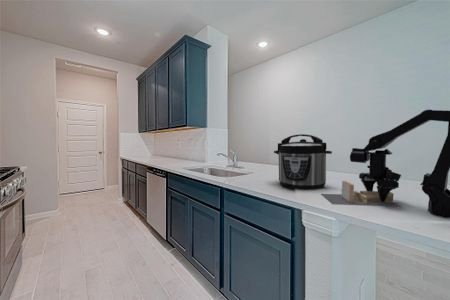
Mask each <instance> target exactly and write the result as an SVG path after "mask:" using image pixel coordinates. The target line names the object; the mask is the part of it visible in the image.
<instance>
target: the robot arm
mask: <svg viewBox="0 0 450 300" xmlns="http://www.w3.org/2000/svg"><path fill="white" fill-rule="evenodd" d="M430 121H434V122H436V121H437V122H445V123H446V122H448V125H447V134H446V137H445V140H444V143H443V146H442V148H441V150H440V153H439V155H438V158H437V161H436V163H435V166H434V168H433V171H432V172H431V173H429V172H427V173H425V174H424V175H423V180H422V182H421V183H420V184H419V185H420V186H421V191H422V192H423V193H424V194H425V195H426V196H427V197H428V203H427V204H428V207H427V212H429V214H431V215H433V216H436V217H442V218H443V219H444V218H445V219H450V189H448V181H449V172H450V110H440V109H438V110H437V109H436V110H435V109H434V110H432V109H425V110H423V111H421V113H419V114H417V115H415V116H413V117H411V118H410V119H408V120H406V121H405V122H403V123H400V124H399V125H397V126H396V127H394V128H392V129H391V130H390V129H389V130H387V131H385V132H381V133H380V134H376V135H374V136H372V137H370V138H369V139H368V143H367V145H366V146H364V148H357V147H352V149H351V152H350V154H349V160H350V162H352V163H357V164H358V163H360V164H361V163H362V164H367V162H369V165H367V169H369V171H368V172H360V173H359V174H358V175H359V176H358V178H359V179H360V182H361V183H362V185H363V187H364V189H365V191H374V185H375V184H377V185H376V191H378V193H379V197H380V200H381V202H385V200H386V198H387V196H388V194H389V192H391V191H393V190H396V189H398V188H399V184H400V183H399V181H400V179H401V177H402V174H399V173H397V172H394V171H392V169H390V168H389V167H388V166H387V155H388V156H389V155H393V152H391V150H389V148H387V147H388V146H390V145H391V144H392V143H393V142H395V140H397V139H398V138H399V137H402V136H403V135H405V134H407V133H409V132H411V131H413V130H415V129H418V128H419V127H420V126H423V125H424V124H426V123H428V122H430ZM381 149H382V150H381ZM373 151H374V152H373Z"/></svg>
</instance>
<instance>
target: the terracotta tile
mask: <svg viewBox="0 0 450 300" xmlns="http://www.w3.org/2000/svg"><path fill="white" fill-rule="evenodd" d="M354 191H355V185H354V184H353V183H351V182H349V181H347V180H342V182H341V194H342V198H344V199H345V200H347V201H348V202H349V203H353V199H354Z"/></svg>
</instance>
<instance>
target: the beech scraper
mask: <svg viewBox="0 0 450 300" xmlns="http://www.w3.org/2000/svg"><path fill="white" fill-rule="evenodd" d="M354 198H356V199H357V200H359V201H361V202H362V203H364V204H367V201H368V202H381V200H380V197H379V193H378V190H376V191H374V190H373V191H367V190H360V191H357V190H354ZM385 202H393V203H394V193H393V192H391V191H390V192H389V194H388V196H387V198H386V200H385Z"/></svg>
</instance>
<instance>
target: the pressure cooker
mask: <svg viewBox="0 0 450 300" xmlns="http://www.w3.org/2000/svg"><path fill="white" fill-rule="evenodd" d="M296 137H310V138H311V140H312V141H307V139H305V138H303V139H302V138H301V139H300V140H299V141H291V139H292V138H296ZM273 153H274V154H277V155H278V181H279V184H280V185H281V186H282V187H285V188H288V189H291V190H293V189H297V190H319V189H323V188H324V187H325V186H326V183H327V182H326V181H327V154H329V155H332V153H333V151H332V150H327V142H323V139H321V138H319V137H318V136H315V135H311V134H293V135H290V136H287V137H285V138H283V139H282V140H281V141H280V143H277V150H274V151H273Z"/></svg>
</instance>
